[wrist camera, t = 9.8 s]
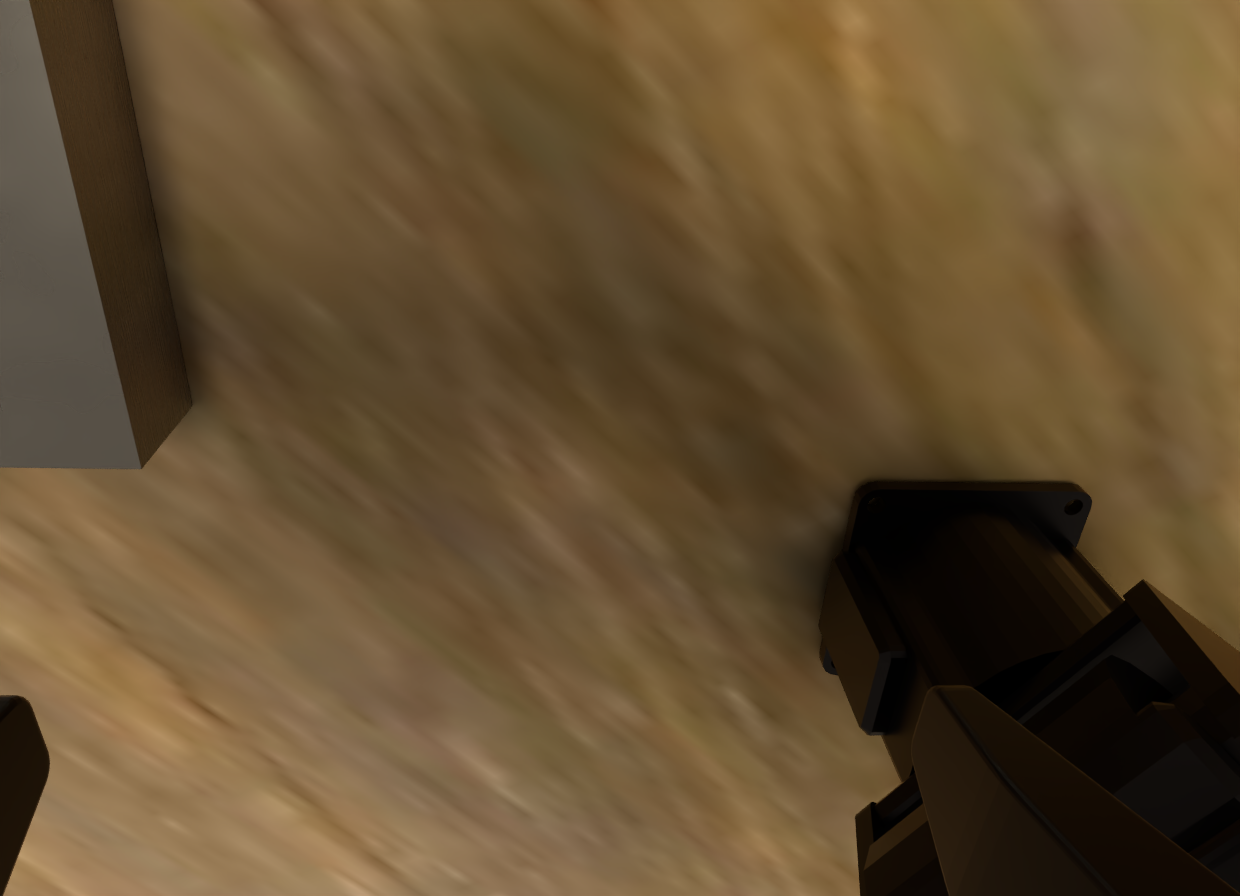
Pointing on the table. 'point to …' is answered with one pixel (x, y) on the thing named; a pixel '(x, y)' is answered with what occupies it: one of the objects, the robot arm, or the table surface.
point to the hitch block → (78, 252)
